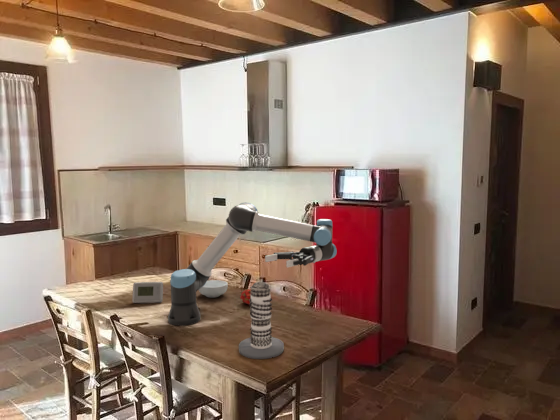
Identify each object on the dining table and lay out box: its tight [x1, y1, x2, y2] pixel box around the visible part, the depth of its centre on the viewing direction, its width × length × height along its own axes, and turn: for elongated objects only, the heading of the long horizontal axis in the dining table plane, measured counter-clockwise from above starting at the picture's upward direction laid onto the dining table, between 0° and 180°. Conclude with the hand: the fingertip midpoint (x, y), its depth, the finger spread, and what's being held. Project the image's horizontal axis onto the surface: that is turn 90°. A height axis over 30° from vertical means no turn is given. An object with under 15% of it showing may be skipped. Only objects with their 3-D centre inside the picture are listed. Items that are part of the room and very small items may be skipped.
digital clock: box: [131, 281, 164, 304], centre depth 246 cm, size 16×9×11 cm, turn 82°
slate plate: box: [238, 336, 285, 360], centre depth 182 cm, size 18×18×2 cm
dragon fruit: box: [239, 288, 252, 306], centre depth 241 cm, size 8×8×12 cm
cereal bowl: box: [198, 279, 229, 298], centre depth 257 cm, size 17×17×7 cm
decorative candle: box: [248, 281, 273, 349], centre depth 181 cm, size 9×9×25 cm
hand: (276, 261), depth 197 cm, fingers open, 13 cm apart
